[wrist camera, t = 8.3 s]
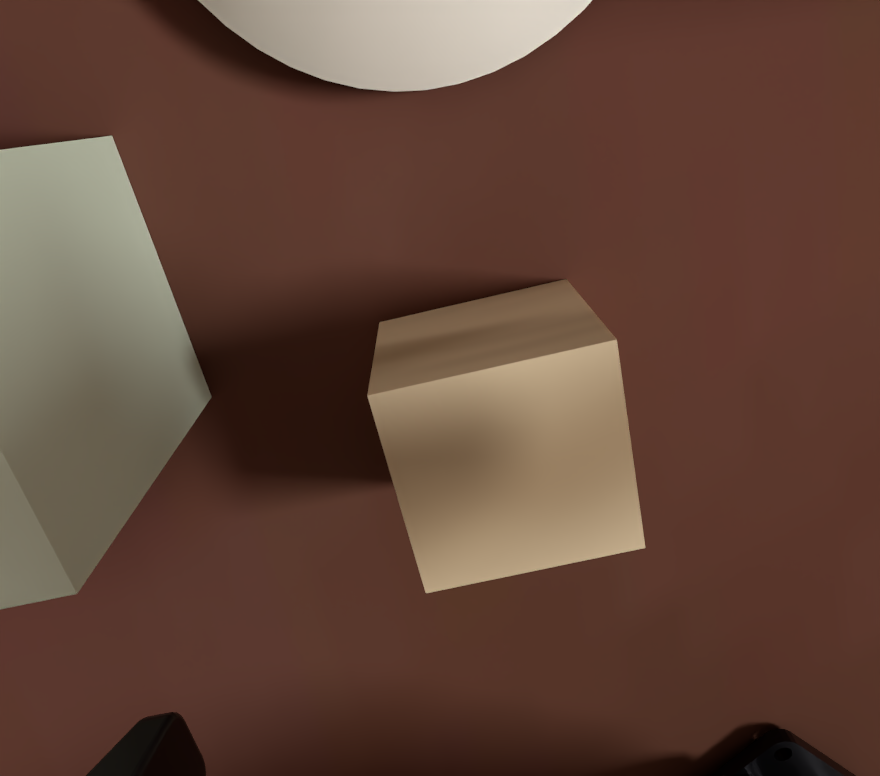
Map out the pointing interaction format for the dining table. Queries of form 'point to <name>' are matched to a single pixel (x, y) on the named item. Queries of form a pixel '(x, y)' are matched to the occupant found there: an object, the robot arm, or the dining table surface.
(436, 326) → the block
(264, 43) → the saucer
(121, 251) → the cover
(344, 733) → the dining table surface
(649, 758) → the dining table surface
